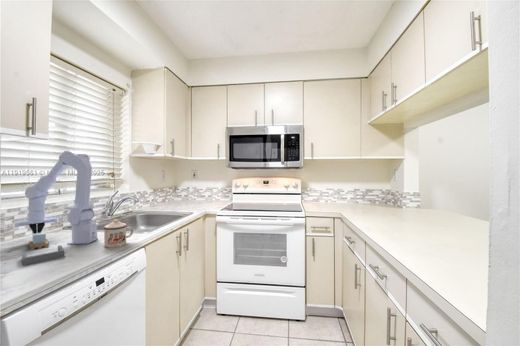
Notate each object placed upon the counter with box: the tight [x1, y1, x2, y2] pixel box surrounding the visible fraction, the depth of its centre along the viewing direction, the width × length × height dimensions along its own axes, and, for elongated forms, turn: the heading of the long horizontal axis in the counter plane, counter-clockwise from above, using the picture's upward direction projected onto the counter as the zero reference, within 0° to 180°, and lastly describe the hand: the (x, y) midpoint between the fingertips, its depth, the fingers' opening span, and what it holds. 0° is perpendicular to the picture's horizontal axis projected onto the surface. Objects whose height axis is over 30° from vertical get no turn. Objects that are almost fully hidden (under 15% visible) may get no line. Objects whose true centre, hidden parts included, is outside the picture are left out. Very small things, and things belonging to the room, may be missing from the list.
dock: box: [21, 244, 66, 266], centre depth 91 cm, size 9×12×2 cm
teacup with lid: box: [103, 219, 134, 248], centre depth 108 cm, size 12×9×12 cm
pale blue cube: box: [32, 231, 47, 245], centre depth 104 cm, size 4×4×4 cm
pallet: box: [28, 238, 50, 251], centre depth 104 cm, size 9×6×2 cm, turn 48°
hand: (37, 238), depth 111 cm, fingers closed
